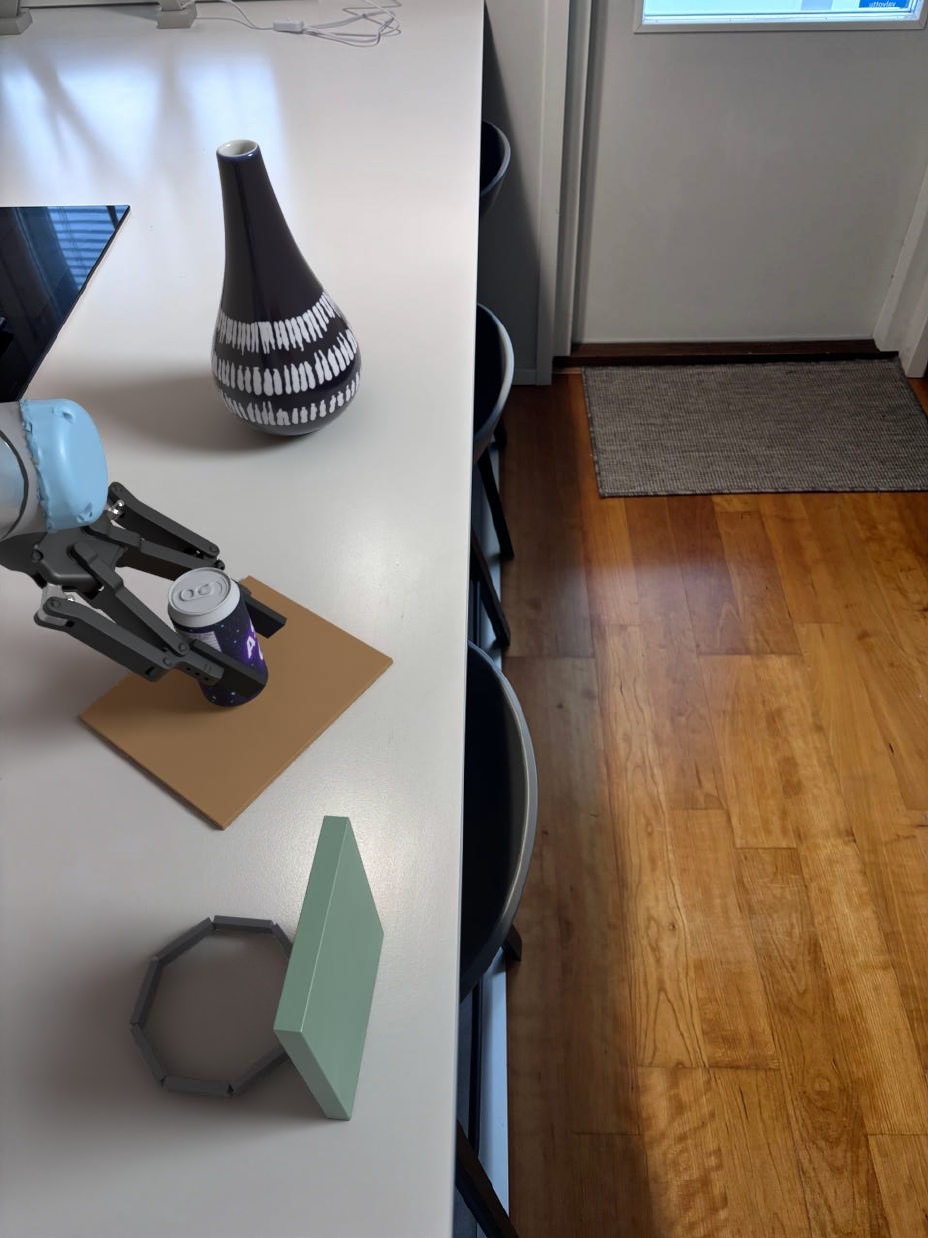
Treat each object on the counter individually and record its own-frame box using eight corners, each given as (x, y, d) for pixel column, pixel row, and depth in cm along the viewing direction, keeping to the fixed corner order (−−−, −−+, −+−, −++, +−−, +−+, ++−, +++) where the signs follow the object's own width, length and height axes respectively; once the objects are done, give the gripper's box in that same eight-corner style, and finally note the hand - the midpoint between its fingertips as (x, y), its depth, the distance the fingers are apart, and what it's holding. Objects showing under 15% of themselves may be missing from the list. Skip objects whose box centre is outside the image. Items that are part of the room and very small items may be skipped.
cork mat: (224, 830, 72) (222, 826, 72) (80, 719, 80) (77, 715, 80) (393, 663, 82) (392, 658, 82) (250, 579, 90) (249, 574, 90)
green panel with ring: (115, 1093, 60) (9, 1002, 48) (174, 914, 68) (96, 797, 56) (350, 1121, 58) (301, 1033, 46) (384, 933, 66) (349, 816, 54)
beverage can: (275, 703, 80) (241, 606, 71) (207, 721, 79) (165, 625, 70) (265, 653, 83) (232, 556, 74) (201, 670, 82) (159, 573, 73)
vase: (205, 452, 104) (114, 181, 82) (263, 370, 114) (197, 108, 92) (340, 471, 100) (284, 192, 78) (388, 384, 110) (350, 115, 88)
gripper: (29, 446, 76) (271, 595, 86) (-87, 622, 63) (212, 770, 74) (66, 391, 71) (318, 555, 81) (-51, 569, 59) (263, 736, 69)
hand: (267, 657), depth 77 cm, fingers closed on beverage can, 6 cm apart
